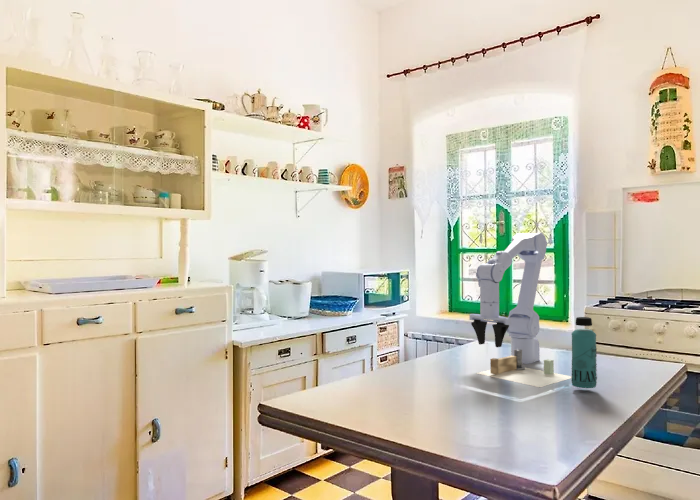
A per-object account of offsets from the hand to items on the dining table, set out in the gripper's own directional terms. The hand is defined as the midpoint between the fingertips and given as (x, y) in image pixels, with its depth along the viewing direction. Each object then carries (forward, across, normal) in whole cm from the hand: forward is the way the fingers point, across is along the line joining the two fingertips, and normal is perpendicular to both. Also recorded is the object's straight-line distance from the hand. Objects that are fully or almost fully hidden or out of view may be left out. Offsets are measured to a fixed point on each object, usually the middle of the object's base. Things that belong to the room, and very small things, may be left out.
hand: (489, 345), depth 172 cm
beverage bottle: (+9, +30, +2) cm, 31 cm away
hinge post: (+8, +5, +8) cm, 12 cm away
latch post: (+8, +14, +9) cm, 19 cm away
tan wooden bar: (+7, +5, 0) cm, 9 cm away
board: (+8, +11, +2) cm, 14 cm away
